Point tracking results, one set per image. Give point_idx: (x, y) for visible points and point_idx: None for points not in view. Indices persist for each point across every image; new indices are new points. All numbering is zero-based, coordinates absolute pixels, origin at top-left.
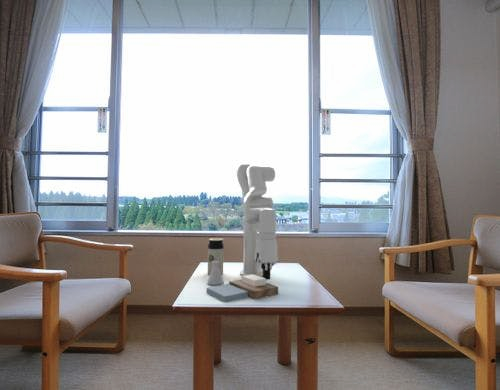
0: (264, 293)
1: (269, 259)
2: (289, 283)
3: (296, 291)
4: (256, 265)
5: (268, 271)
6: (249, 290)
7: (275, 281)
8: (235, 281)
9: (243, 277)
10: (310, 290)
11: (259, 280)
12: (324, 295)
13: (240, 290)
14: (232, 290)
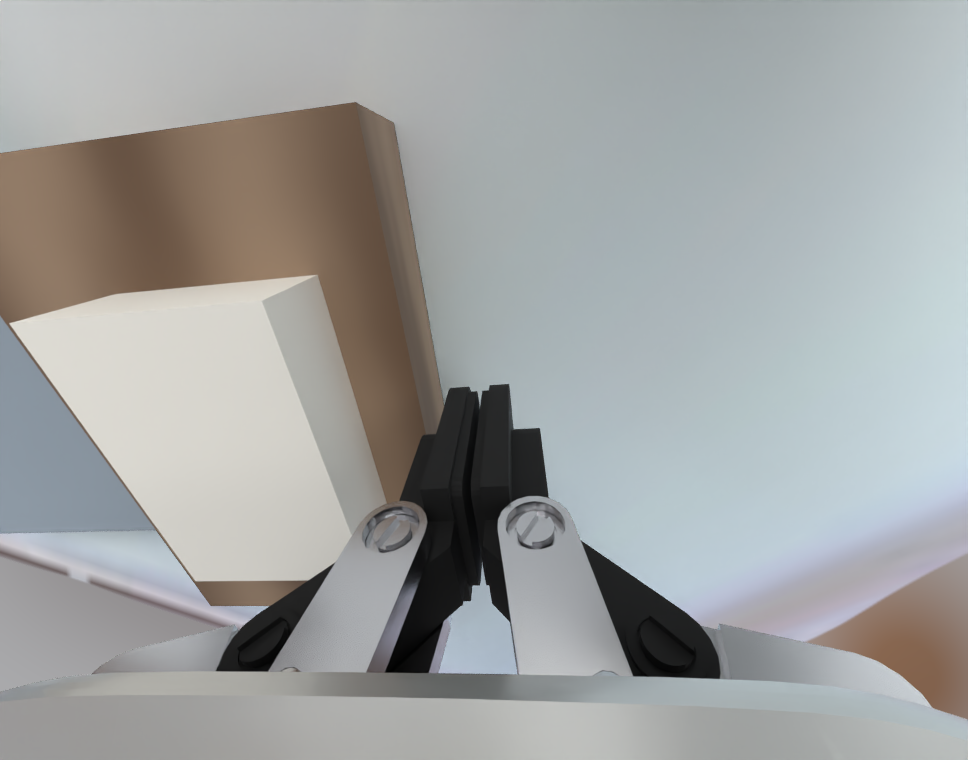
0: None
1: None
2: (882, 350)
3: (651, 561)
4: (102, 666)
5: (471, 579)
6: None
7: (852, 148)
8: (11, 221)
9: (63, 370)
10: (769, 589)
11: (274, 570)
12: None
13: (113, 477)
14: (29, 446)
